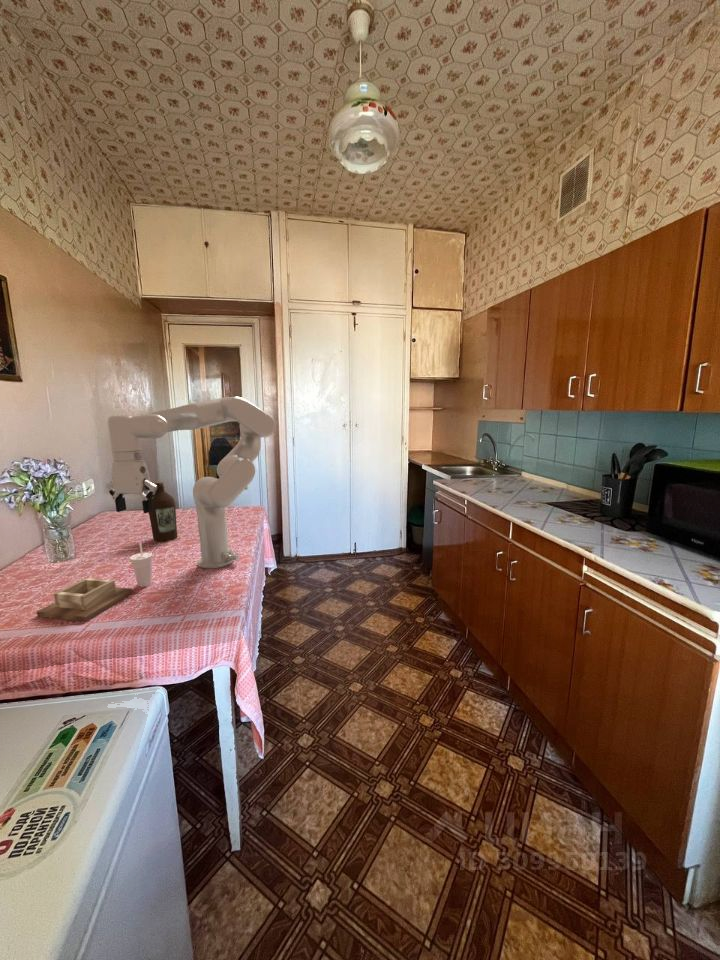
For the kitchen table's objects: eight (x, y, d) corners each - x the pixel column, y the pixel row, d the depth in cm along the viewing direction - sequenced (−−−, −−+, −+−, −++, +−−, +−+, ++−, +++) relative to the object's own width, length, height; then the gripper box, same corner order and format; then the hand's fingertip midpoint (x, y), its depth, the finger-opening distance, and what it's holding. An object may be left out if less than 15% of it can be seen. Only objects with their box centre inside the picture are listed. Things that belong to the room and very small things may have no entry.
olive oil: (148, 538, 165) (141, 482, 160) (174, 532, 172) (168, 479, 167) (156, 544, 157) (149, 486, 153) (182, 538, 165) (176, 482, 160)
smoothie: (140, 590, 117) (134, 548, 114) (129, 585, 120) (123, 544, 118) (160, 582, 122) (155, 541, 120) (149, 578, 126) (144, 538, 123)
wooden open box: (133, 593, 115) (130, 576, 114) (86, 622, 100) (83, 603, 99) (89, 589, 119) (86, 573, 118) (37, 616, 103) (33, 598, 102)
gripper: (161, 455, 116) (167, 509, 119) (113, 455, 119) (121, 507, 122) (142, 458, 108) (149, 516, 112) (92, 458, 112) (101, 513, 115)
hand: (134, 511), depth 117 cm, fingers open, 9 cm apart
